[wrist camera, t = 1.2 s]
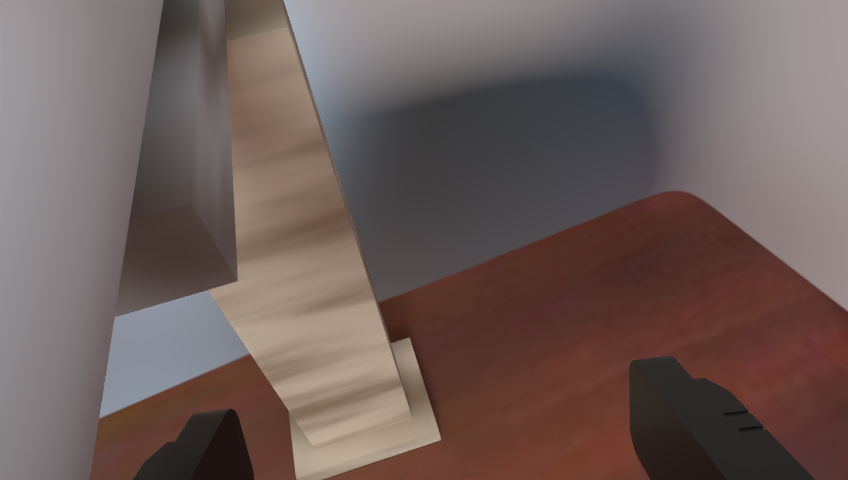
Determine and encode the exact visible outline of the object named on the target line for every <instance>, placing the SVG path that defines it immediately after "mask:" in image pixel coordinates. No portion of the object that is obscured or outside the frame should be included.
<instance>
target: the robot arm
mask: <svg viewBox="0 0 848 480" xmlns="http://www.w3.org/2000/svg"><path fill="white" fill-rule="evenodd" d="M629 392H630V432H631V437H632V442H633V445H634V449H635V451H636V454H637V456H638V458H639V460H640V462H641V464H642V466H643V467H644V469H645V471H646V473H647V474H648V476H649V478H650V480H815V479H814V478H813V477H812V476H811V475H810V474H809V473H808V472H807V471H806V470H805V469H804V468H803V467H802V466H801V465H800V464H799V463H798V461H797V460H796V459H795V458H794V457H793V456H792V455H791V454H790V453H789V452H788V451H787V450H786V449H785V448H784V447H783V446H782V445H781V444H780V443H779V442H778V441H777V440H776V439H775V438H774V437H773V436H772V435H771V434H770V433H769V431H768V430H764V429H763V425H762V424H761V423H760V422H759V421H758V420H757V419H756V418H755V417H754V416H753V415H752V414H749V413H748V410H747V409H746V408H745V407H744V406H743V405H742V404H741V403H740V401H739V400H738V399H737V398H736V397H735V396H734V395H733V394H732V393H731V392H729V391H728V390H726V389H724V388H722V387H720V386H718V385H717V384H715V383H713V382H711V381H709V380H708V379H706V378H700V379H692V377H691V376H690V375H689V374H688V373H687V372H686V371H685V370H684V368H683V367H682V366H681V365H680V364H679V363H678V362H677V361H676V359H675V358H673V357H672V356H665V357H657V358H649V359H641V360H633V361H632V362H631V364H630V368H629ZM133 480H254V473H253V468H252V465H251V461H250V457H249V454H248V450H247V446H246V443H245V439H244V436H243V432H242V428H241V425H240V421H239V418H238V415H237V413H236V412H235V411H234V410H233V409H227V410H218V411H210V412H202V413H195V414H193V415H192V416H191V417H190V419H189V420H188V422H187V424H186V425H185V427H184V429H183V430H182V432H181V433H180V435H179V437H178V438H177V440H176V441H175V442H167V443H166V444H165V445H164V446H163V447H162V448H160V449H159V450H158V451H157V452H156V453H155V454H154V455H152V456H151V457H150V458H149V459H148V460H147V461H146V462H145V463H144V464H143V466H142V467H141V469H140V470H139V472H138V473H137V475H136V476H135V478H134V479H133Z"/></svg>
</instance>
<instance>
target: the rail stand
mask: <svg viewBox="0 0 848 480" xmlns="http://www.w3.org/2000/svg"><path fill="white" fill-rule="evenodd" d="M206 290H208V291H209V293H210V294H211V296H212V297H213V299H214V300H215V302H216V303H217V305H218V306H219V308H220V309H221V311H222V312H223V314H224V315H225V317H226V318H227V320H228V321H229V323H230V324H231V326H232V327H233V328H234V330H235V331H236V333H237V334H238V336H239V337H240V339H241V340H242V342H243V343H244V345H245V346H246V348H247V349H248V351H249V352H250V354H251V355H252V357H253V358H254V360H255V361H256V363H257V364H258V366H259V367H260V369H261V370H262V372H263V373H264V375H265V376H266V378H267V379H268V381H269V382H270V384H271V385H272V386H273V388H274V389H275V391H276V392H277V394H278V395H279V397H280V398H281V400H282V401H283V403H284V404H285V406H286V407H287V409H288V410H289V418H290V427H291V437H292V446H293V455H294V464H295V473H296V479H297V480H322V479H325V478H328V477H331V476H334V475H337V474H340V473H343V472H346V471H349V470H352V469H355V468H358V467H361V466H364V465H367V464H370V463H373V462H376V461H379V460H382V459H385V458H388V457H391V456H394V455H397V454H400V453H403V452H406V451H409V450H412V449H416V448H419V447H422V446H425V445H428V444H431V443H434V442H437V441H440V440H441V437H440V433H439V430H438V426H437V423H436V420H435V417H434V414H433V411H432V407H431V404H430V401H429V398H428V395H427V391H426V388H425V385H424V382H423V379H422V375H421V372H420V369H419V366H418V363H417V359H416V356H415V353H414V350H413V347H412V344H411V340H410V337H409V338H406V339H403V340H400V341H397V342H393V343H391V342H390V339H389V336H388V333H387V330H386V326H385V323H384V320H383V317H382V314H381V310H380V307H379V304H378V301H377V298H376V295H375V291H374V288H373V285H372V282H371V279H370V275H369V272H368V269H367V266H366V263H365V259H364V256H363V253H362V250H361V247H360V243H359V240H358V237H357V234H356V231H355V228H354V224H353V221H352V218H351V215H350V212H349V208H348V205H347V202H346V199H345V196H344V192H343V189H342V186H341V183H340V180H339V177H338V173H337V170H336V167H335V164H334V161H333V157H332V154H331V151H330V148H329V144H328V141H327V138H326V135H325V132H324V129H323V126H322V122H321V119H320V116H319V113H318V109H317V106H316V103H315V100H314V97H313V93H312V90H311V87H310V84H309V81H308V77H307V74H306V71H305V68H304V65H303V61H302V58H301V55H300V52H299V49H298V46H297V42H296V39H295V36H294V33H293V30H292V26H291V23H290V20H289V17H288V14H287V10H286V7H285V4H284V1H283V0H163V7H162V13H161V20H160V26H159V33H158V39H157V46H156V52H155V59H154V65H153V72H152V78H151V85H150V91H149V97H148V104H147V110H146V117H145V123H144V130H143V136H142V143H141V149H140V156H139V162H138V169H137V175H136V182H135V188H134V195H133V201H132V207H131V214H130V220H129V227H128V233H127V240H126V246H125V253H124V259H123V266H122V272H121V279H120V285H119V292H118V298H117V304H116V311H115V317H116V316H120V315H124V314H127V313H130V312H134V311H137V310H141V309H144V308H148V307H151V306H154V305H158V304H161V303H165V302H168V301H172V300H175V299H178V298H182V297H185V296H189V295H192V294H196V293H199V292H203V291H206Z"/></svg>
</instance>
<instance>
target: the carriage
mask: <svg viewBox="0 0 848 480" xmlns="http://www.w3.org/2000/svg"><path fill="white" fill-rule="evenodd" d="M162 7H163V0H0V480H89V479H90V473H91V466H92V460H93V453H94V447H95V440H96V434H97V427H98V421H99V414H100V408H101V402H102V394H103V388H104V382H105V376H106V369H107V363H108V356H109V349H110V343H111V337H112V330H113V323H114V317H115V311H116V304H117V298H118V292H119V285H120V279H121V272H122V266H123V259H124V253H125V246H126V240H127V233H128V227H129V220H130V214H131V207H132V201H133V195H134V188H135V182H136V175H137V169H138V162H139V156H140V149H141V143H142V136H143V130H144V123H145V117H146V110H147V104H148V97H149V91H150V85H151V78H152V72H153V65H154V59H155V52H156V46H157V39H158V33H159V26H160V20H161V13H162Z"/></svg>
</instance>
